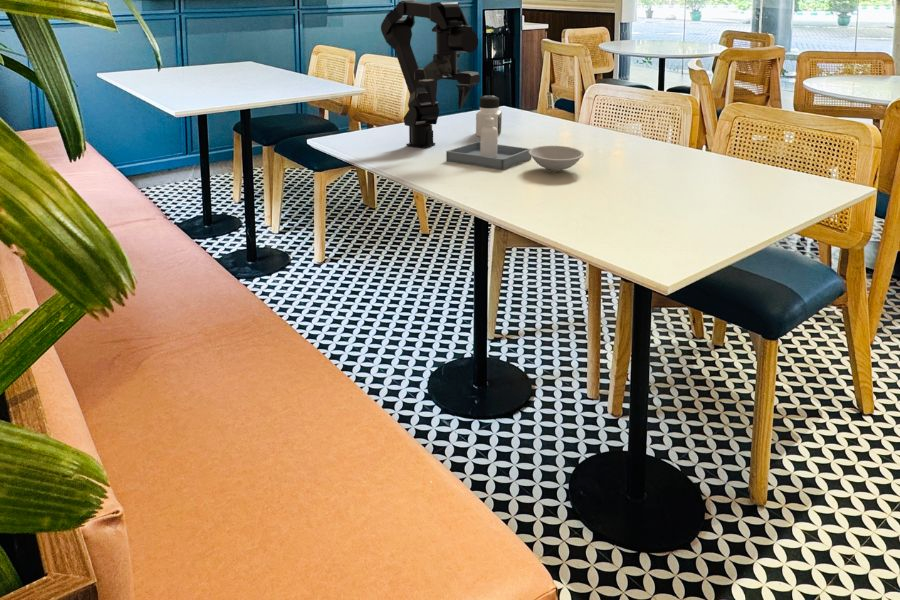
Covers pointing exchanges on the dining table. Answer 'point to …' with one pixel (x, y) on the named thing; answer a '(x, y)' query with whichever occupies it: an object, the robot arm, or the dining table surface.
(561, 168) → the dish
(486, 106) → the medicine bottle
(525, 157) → the slate tray
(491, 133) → the eye dropper bottle
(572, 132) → the dining table surface
